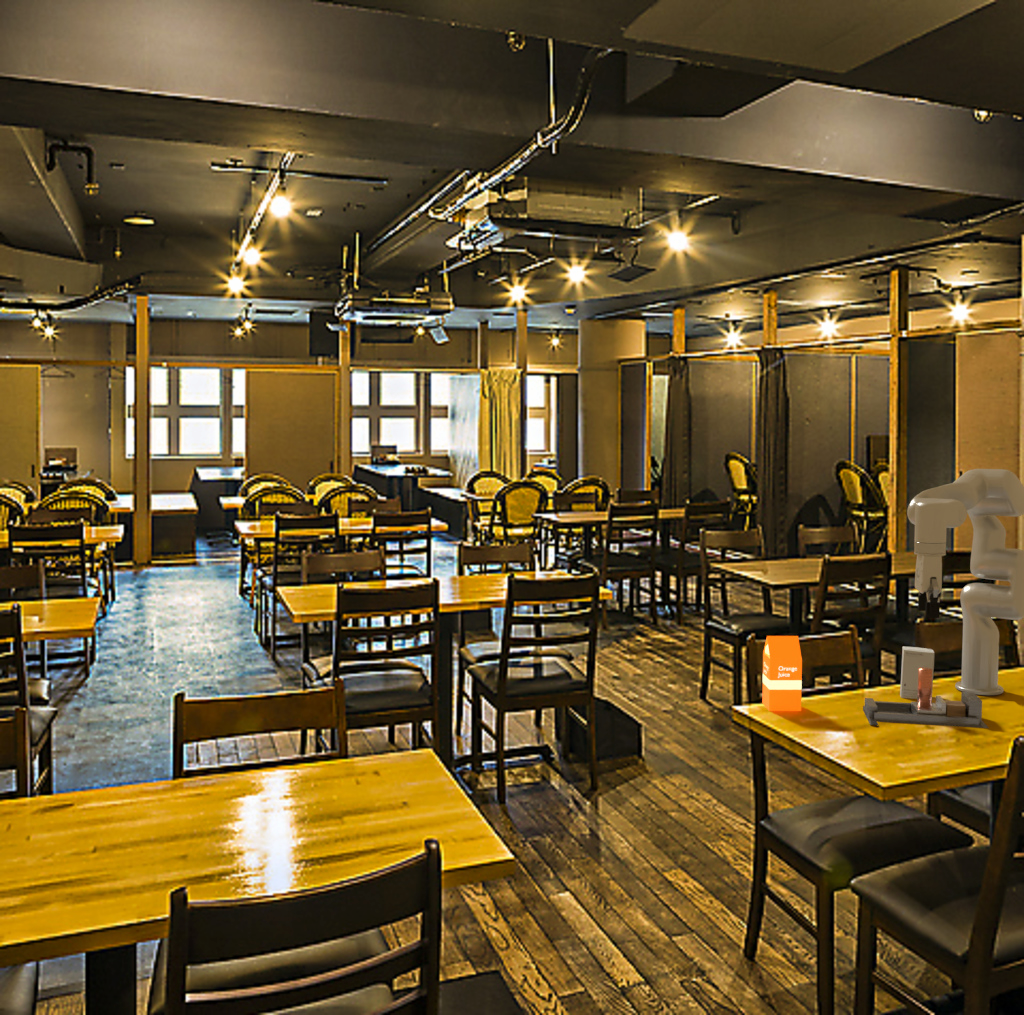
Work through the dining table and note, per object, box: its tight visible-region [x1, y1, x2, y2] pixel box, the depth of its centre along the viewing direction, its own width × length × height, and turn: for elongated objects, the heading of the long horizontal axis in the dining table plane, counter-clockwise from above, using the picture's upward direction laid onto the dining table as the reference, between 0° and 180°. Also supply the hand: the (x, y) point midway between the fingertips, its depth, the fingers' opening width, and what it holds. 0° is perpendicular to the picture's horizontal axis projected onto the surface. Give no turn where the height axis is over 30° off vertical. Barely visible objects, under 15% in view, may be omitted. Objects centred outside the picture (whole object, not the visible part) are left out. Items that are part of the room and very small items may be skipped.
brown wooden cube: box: [943, 699, 966, 717], centre depth 240 cm, size 4×4×4 cm
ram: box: [910, 667, 946, 716], centre depth 241 cm, size 8×7×12 cm
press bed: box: [862, 691, 989, 729], centre depth 242 cm, size 14×28×7 cm, turn 77°
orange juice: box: [761, 635, 803, 712], centre depth 255 cm, size 8×9×20 cm
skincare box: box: [899, 646, 935, 700], centre depth 261 cm, size 8×6×15 cm
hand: (928, 613), depth 240 cm, fingers open, 9 cm apart
